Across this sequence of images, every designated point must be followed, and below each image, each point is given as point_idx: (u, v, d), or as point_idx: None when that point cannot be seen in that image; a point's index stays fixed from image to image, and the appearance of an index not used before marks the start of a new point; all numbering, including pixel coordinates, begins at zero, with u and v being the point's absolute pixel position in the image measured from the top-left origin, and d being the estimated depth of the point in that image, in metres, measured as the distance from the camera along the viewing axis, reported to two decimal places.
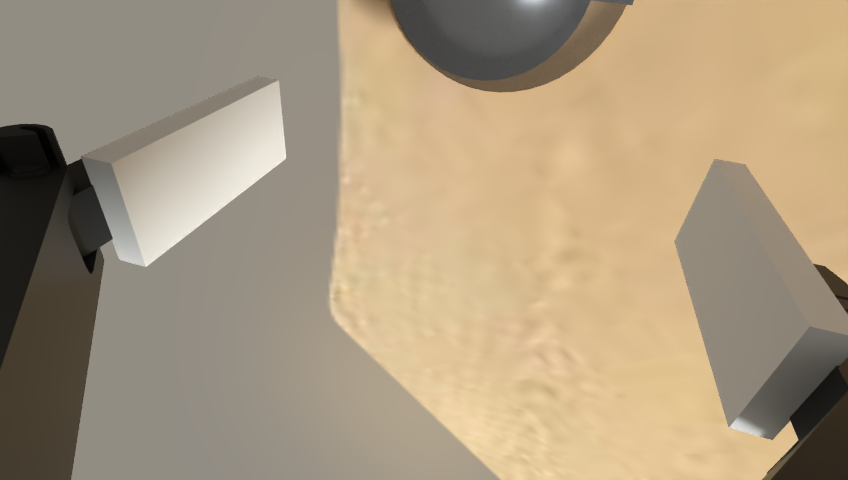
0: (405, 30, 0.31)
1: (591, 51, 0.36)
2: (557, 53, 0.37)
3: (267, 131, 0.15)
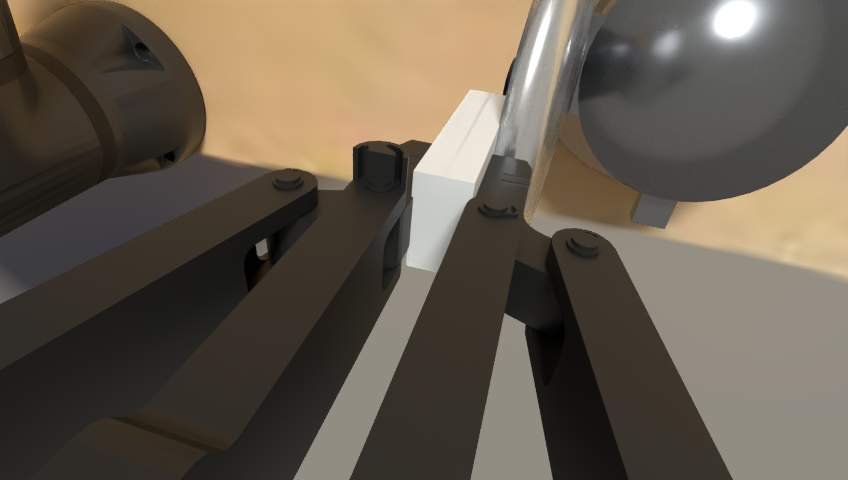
0: (750, 190, 0.26)
1: None
2: None
3: None
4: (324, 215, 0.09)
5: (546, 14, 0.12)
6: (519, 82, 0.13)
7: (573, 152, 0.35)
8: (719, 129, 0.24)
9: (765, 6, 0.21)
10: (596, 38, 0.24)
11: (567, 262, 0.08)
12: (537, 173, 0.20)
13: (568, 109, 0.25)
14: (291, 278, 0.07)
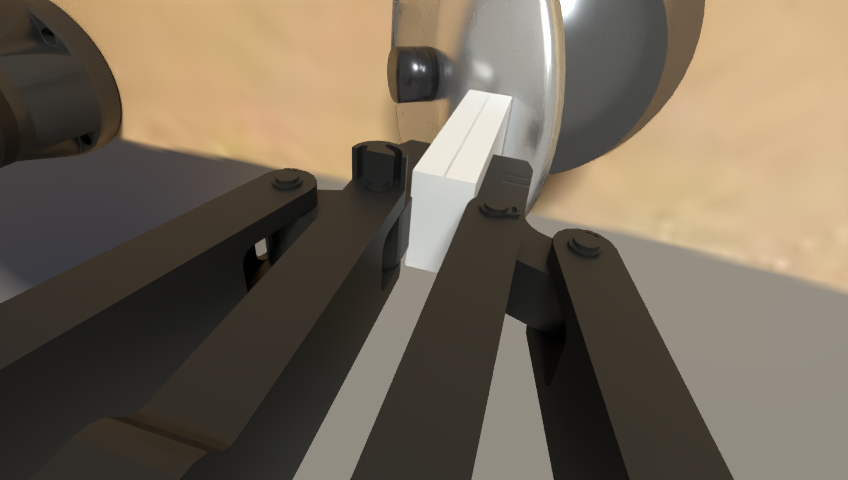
0: (580, 163, 0.27)
1: None
2: None
3: None
4: (323, 215, 0.09)
5: (551, 7, 0.14)
6: (550, 72, 0.14)
7: None
8: None
9: None
10: None
11: (568, 262, 0.08)
12: None
13: None
14: (290, 278, 0.07)
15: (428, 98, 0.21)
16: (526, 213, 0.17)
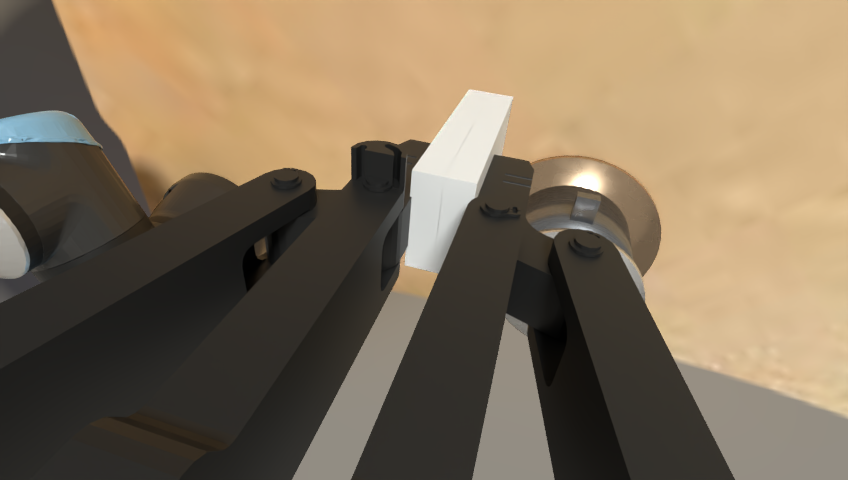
0: None
1: (639, 186, 0.46)
2: (635, 208, 0.47)
3: None
4: (322, 215, 0.09)
5: (640, 274, 0.40)
6: (644, 292, 0.41)
7: None
8: None
9: None
10: None
11: (570, 263, 0.08)
12: None
13: None
14: (289, 277, 0.07)
15: None
16: None
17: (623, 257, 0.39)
